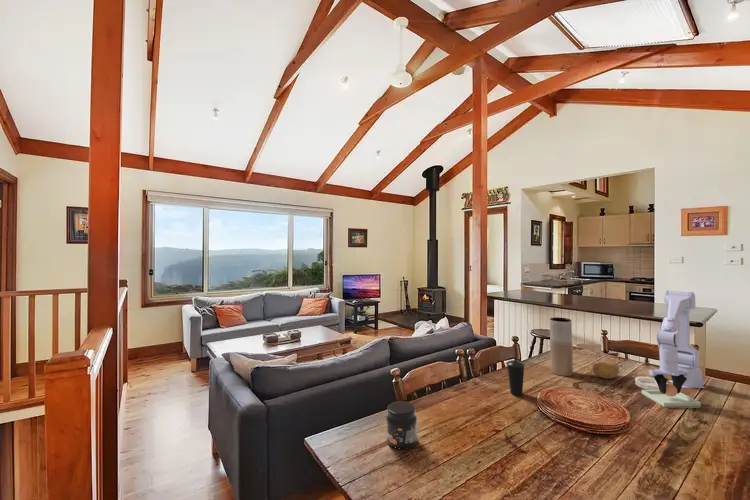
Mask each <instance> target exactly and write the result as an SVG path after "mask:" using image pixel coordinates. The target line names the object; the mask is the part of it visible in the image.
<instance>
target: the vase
mask: <svg viewBox="0 0 750 500" xmlns="http://www.w3.org/2000/svg"><path fill="white" fill-rule="evenodd" d="M572 325H573V323H572V319H570V318H566V317H559V316H558V317H550V318H549V334H550V335H549V337H550V339H549V341H550V343H549V345H550V348H549V349H550V370H551V373H552V374H555V375H557V376H561V377H570V376H573V374H574V360H573V359H574V358H573V332H572V331H573V329H572Z"/></svg>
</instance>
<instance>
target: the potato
mask: <svg viewBox="0 0 750 500" xmlns="http://www.w3.org/2000/svg"><path fill="white" fill-rule="evenodd" d="M592 372H593V373H594V374H595V376H597V377H599V378H602V379H604V380H605V379H606V380H610V379H614V378H616V377H617V376H618V374H619V372H620V368H619V365H618V363H616V362H615V361H611V360H604V361H599V362H596V363H594V364H593V366H592Z"/></svg>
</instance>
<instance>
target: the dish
mask: <svg viewBox="0 0 750 500" xmlns="http://www.w3.org/2000/svg"><path fill="white" fill-rule="evenodd" d="M634 383H635V384H634V385H636V386H637V387H639V388H640V389H641V388H642V389H643V390H659V387H658V384H657V382H656V380H655V379H654V377H650V376H637V377H634ZM667 383H668V382H667ZM667 383H666V384H667Z"/></svg>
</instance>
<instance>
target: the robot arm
mask: <svg viewBox="0 0 750 500" xmlns="http://www.w3.org/2000/svg"><path fill="white" fill-rule="evenodd" d="M663 301H664V303H665V305H666V306H667V307H668V310H667V316H665V317H664V318H663V319H662V322H661V327H660V330H659V331H657V333H656V342H657V348H658V350H659V351H658V352H659V353H658V354H659V368H654V369H649V370H648V374H649V375H650V376H652V378H654V379H655V380H656V382H657V384H658V387H659V390H660V392H661V393H663V394H665V393H666V383H668V382H670V383H672V385H674V386H675V387H676V389H677V393H678V394H679V393H681V390H682V389H683V388H684V389H690V388H691V389H701V388H702V389H705V386H704V384H703V382H704V381H703V379H704V378H703V370H701V368H700V367H699V365H700V355H699V350H698V349H697V348H696V347H694V346H693V345H691V344H690V343H691V340H690V312H691V310H695V309H696V293H694V292H693V291H679V290H667V289H666V290H665V291H664V294H663ZM665 376H670V377H671V379H670V380H668V378H667V377H665Z"/></svg>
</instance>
